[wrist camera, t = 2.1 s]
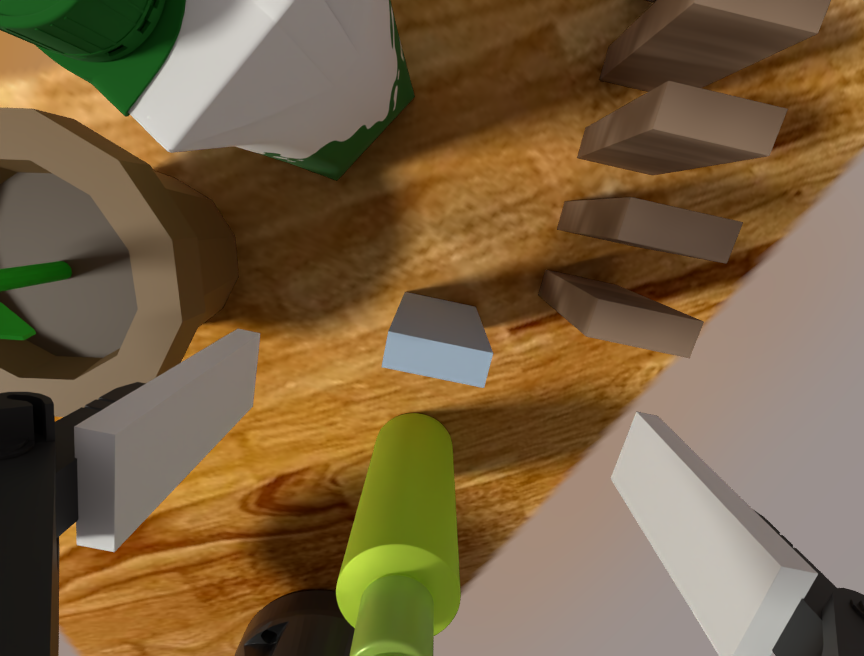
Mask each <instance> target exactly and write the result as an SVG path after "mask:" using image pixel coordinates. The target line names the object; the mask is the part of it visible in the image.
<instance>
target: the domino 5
mask: <svg viewBox="0 0 864 656" xmlns="http://www.w3.org/2000/svg"><path fill="white" fill-rule="evenodd" d="M538 295H539V296H540V297H541V298H542V299H543V300H544V301H546V302H547V303H548V304H549V305H550V306H551V307H553V308H554V309H555V310H556V311H557V312H558V313H560V314H561V315H562V316H563V317H564V318H565V319H567V320H568V321H569V322H570V323H571V324H572V325H574V326H575V327H576V328H577V329H578V330H579V331H581V332H582V333H583V334H584V335H585V336H587V337H591V338H596V339H601V340H606V341H610V342H615V343H620V344H624V345H629V346H634V347H639V348H643V349H648V350H653V351H658V352H662V353H667V354H672V355H677V356H681V357H686V358H690V356H691V353H692V351H693V348H694V346H695V343H696V340H697V338H698V335H699V333H700V330H701V328H702V325H703V323H704V322H703V321H701V320H699V319H696V318H694V317H691V316H689V315H687V314H684V313H682V312H680V311H677V310H675V309H672V308H670V307H668V306H665V305H663V304H661V303H658V302H656V301H654V300H651V299H649V298H646V297H644V296H642V295H639V294H637V293H635V292H632V291H630V290H627V289H625V288H623V287H620V286H618V285H615V284H610V283H605V282H601V281H596V280H592V279H587V278H582V277H578V276H573V275H569V274H564V273H559V272H555V271H550V270H545V273H544V277H543V280H542V284H541V287H540V291H539V294H538Z"/></svg>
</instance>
